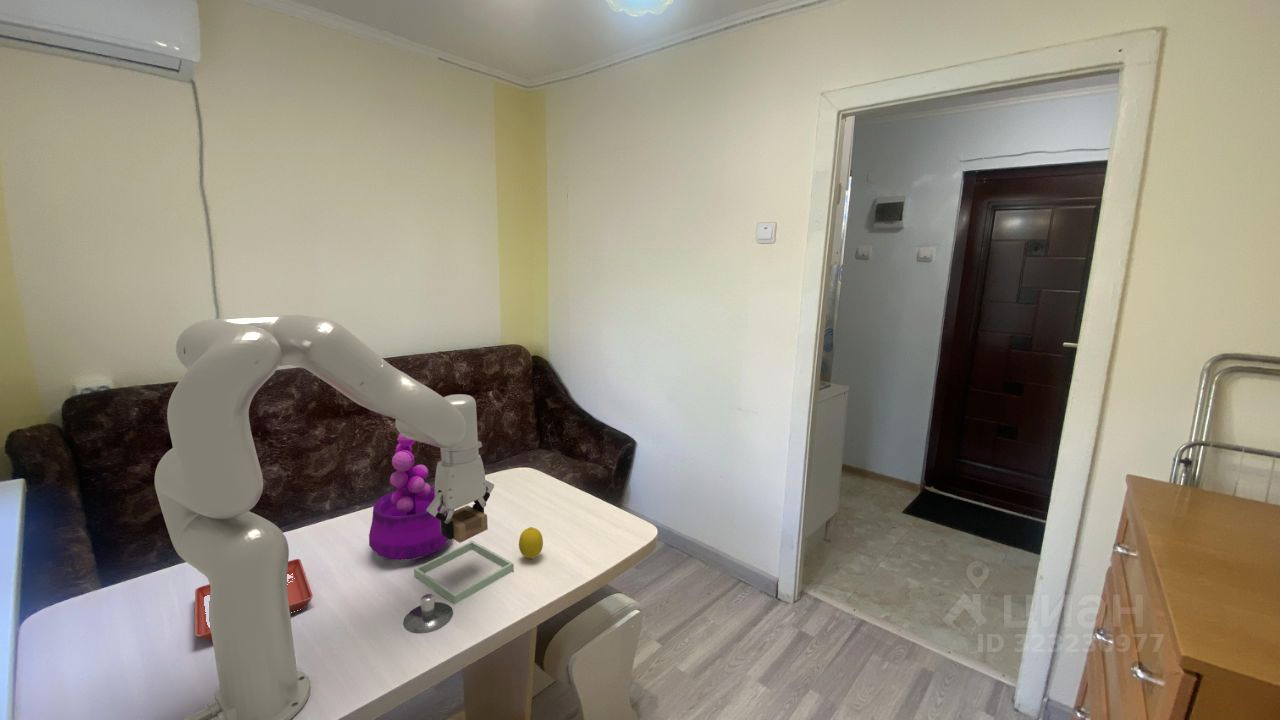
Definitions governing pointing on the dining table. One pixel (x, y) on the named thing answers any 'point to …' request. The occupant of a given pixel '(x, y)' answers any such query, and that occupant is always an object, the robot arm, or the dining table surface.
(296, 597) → the plant saucer
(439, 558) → the green rectangular frame
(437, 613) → the peg on round base
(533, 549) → the lemon
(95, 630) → the dining table surface
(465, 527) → the wooden square frame
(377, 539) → the decorative plant
